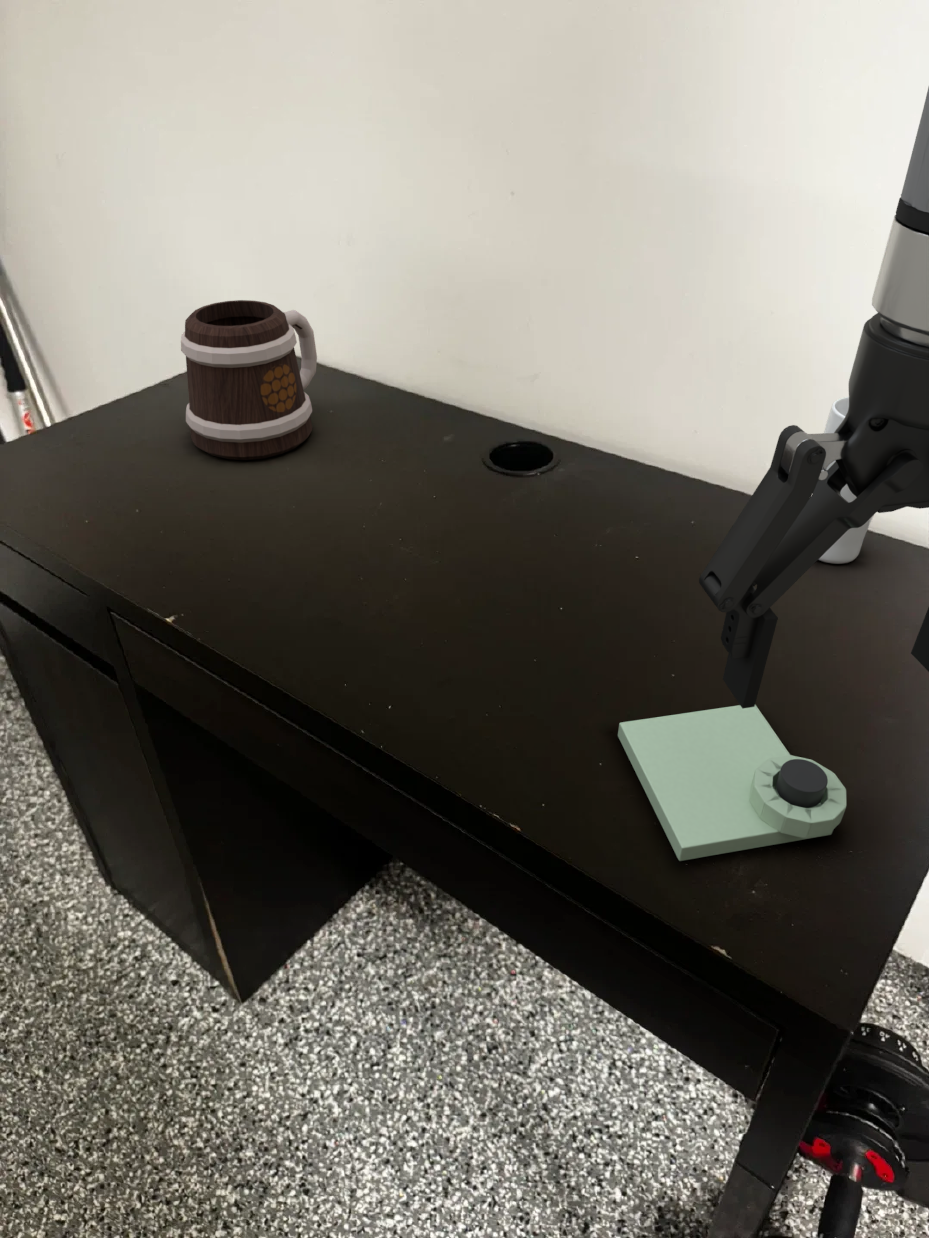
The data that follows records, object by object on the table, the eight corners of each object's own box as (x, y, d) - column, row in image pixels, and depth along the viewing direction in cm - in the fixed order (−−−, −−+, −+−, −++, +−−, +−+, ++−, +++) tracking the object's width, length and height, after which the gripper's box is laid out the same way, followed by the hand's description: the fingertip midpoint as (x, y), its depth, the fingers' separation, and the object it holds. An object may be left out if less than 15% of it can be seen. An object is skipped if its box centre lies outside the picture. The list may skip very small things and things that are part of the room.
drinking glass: (795, 565, 87) (834, 421, 78) (792, 530, 92) (828, 392, 83) (869, 574, 85) (917, 429, 76) (861, 538, 91) (905, 399, 82)
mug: (255, 475, 101) (235, 345, 92) (163, 443, 108) (136, 319, 99) (364, 415, 115) (355, 296, 106) (276, 390, 121) (261, 276, 112)
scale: (852, 843, 60) (864, 813, 58) (684, 873, 58) (691, 843, 56) (762, 714, 70) (770, 685, 68) (617, 735, 68) (621, 706, 66)
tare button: (830, 804, 59) (836, 788, 58) (789, 811, 58) (794, 795, 58) (808, 771, 61) (813, 755, 60) (767, 778, 61) (772, 762, 60)
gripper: (1116, 285, 46) (972, 619, 59) (675, 314, 42) (624, 665, 55) (1244, 334, 40) (1054, 693, 53) (746, 373, 36) (671, 750, 49)
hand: (835, 679), depth 54 cm, fingers open, 12 cm apart
